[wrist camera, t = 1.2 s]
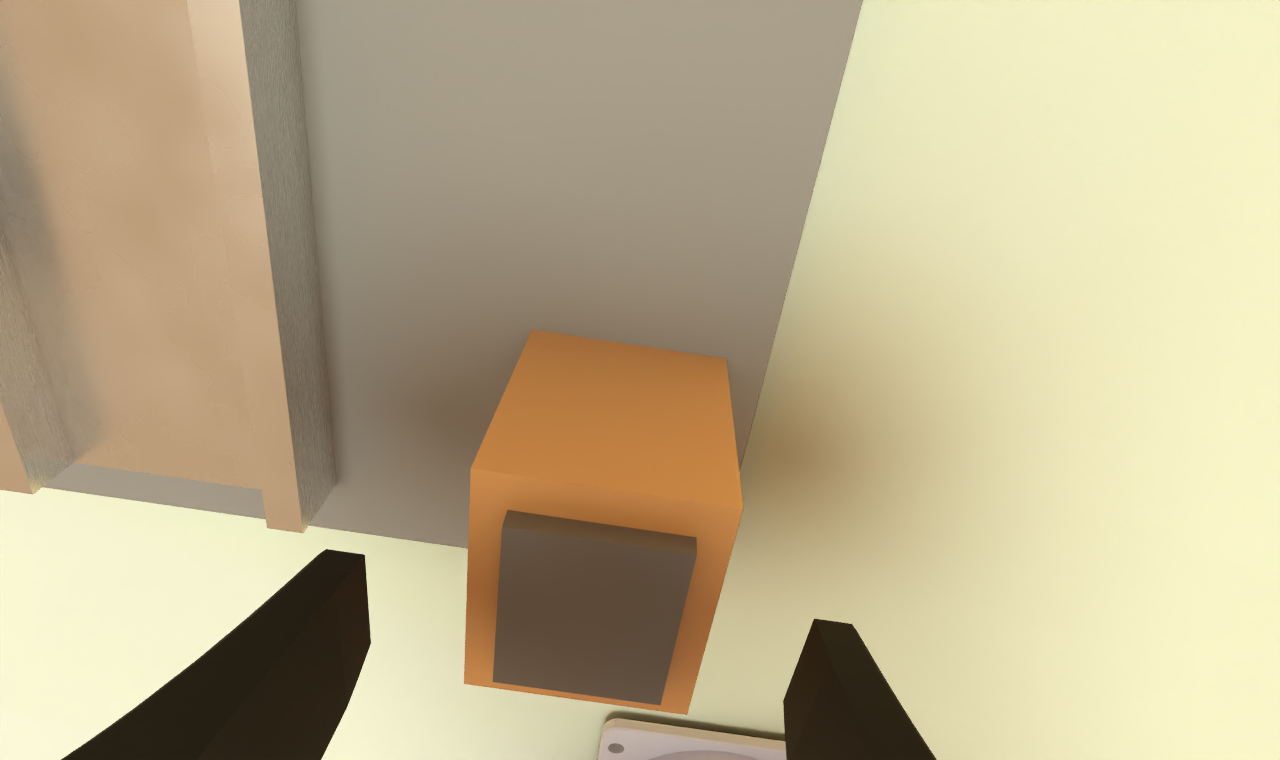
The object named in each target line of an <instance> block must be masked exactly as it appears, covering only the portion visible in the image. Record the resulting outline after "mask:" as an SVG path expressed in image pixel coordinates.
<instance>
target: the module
mask: <svg viewBox="0 0 1280 760" xmlns="http://www.w3.org/2000/svg"><path fill="white" fill-rule="evenodd" d="M742 512H743V501H742V492H741V483H740V475H739V466H738V457H737V449H736V440H735V431H734V423H733V414H732V406H731V397H730V388H729V380H728V371H727V362H726V359H725V358H718V357H712V356H705V355H698V354H692V353H685V352H679V351H672V350H665V349H659V348H652V347H646V346H639V345H632V344H626V343H619V342H613V341H606V340H599V339H593V338H586V337H579V336H573V335H566V334H560V333H553V332H546V331H540V330H533V329H532V330H531V333H530V335H529V337H528V339H527V342H526V344H525V346H524V349H523V351H522V353H521V355H520V358H519V360H518V362H517V364H516V367H515V369H514V371H513V373H512V376H511V378H510V380H509V383H508V385H507V387H506V389H505V392H504V394H503V396H502V398H501V401H500V403H499V405H498V408H497V410H496V412H495V414H494V417H493V419H492V421H491V423H490V426H489V428H488V430H487V432H486V435H485V437H484V439H483V442H482V444H481V446H480V448H479V451H478V453H477V455H476V457H475V460H474V462H473V464H472V467H471V473H470V506H469V539H468V572H467V605H466V638H465V671H464V684H470V685H477V686H484V687H491V688H498V689H506V690H513V691H520V692H527V693H534V694H541V695H548V696H556V697H563V698H570V699H577V700H584V701H591V702H599V703H606V704H613V705H620V706H627V707H634V708H641V709H649V710H656V711H663V712H670V713H677V714H684V715H687V713H688V709H689V705H690V702H691V698H692V694H693V691H694V687H695V683H696V680H697V676H698V673H699V669H700V665H701V662H702V658H703V654H704V651H705V647H706V643H707V640H708V636H709V632H710V629H711V625H712V621H713V618H714V614H715V610H716V607H717V603H718V599H719V596H720V592H721V589H722V585H723V581H724V578H725V574H726V570H727V567H728V563H729V559H730V556H731V552H732V548H733V545H734V541H735V537H736V534H737V530H738V526H739V523H740V519H741V515H742Z"/></svg>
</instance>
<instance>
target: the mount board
mask: <svg viewBox="0 0 1280 760" xmlns="http://www.w3.org/2000/svg"><path fill="white" fill-rule="evenodd" d="M862 1H863V0H296V7H297V19H298V31H299V42H300V54H301V66H302V77H303V89H304V101H305V113H306V124H307V136H308V148H309V159H310V171H311V183H312V195H313V206H314V218H315V230H316V241H317V253H318V265H319V277H320V288H321V300H322V312H323V323H324V335H325V347H326V358H327V370H328V382H329V394H330V405H331V417H332V429H333V440H334V452H335V464H336V476H337V485H336V486H335V488H334V489H333V491H332V492H331V494H330V495H329V496H328V498H327V499H326V501H325V502H324V504H323V505H322V507H321V508H320V509H319V511H318V512H317V514H316V515H315V517H314V518H313V519H312V521H311V522H310V524H309V526H316V527H323V528H330V529H337V530H344V531H351V532H358V533H365V534H372V535H378V536H385V537H392V538H399V539H406V540H413V541H420V542H427V543H434V544H441V545H448V546H455V547H462V548H468V539H469V506H470V473H471V467H472V464H473V462H474V460H475V457H476V455H477V453H478V451H479V448H480V446H481V444H482V442H483V439H484V437H485V435H486V432H487V430H488V428H489V426H490V423H491V421H492V419H493V417H494V414H495V412H496V410H497V408H498V405H499V403H500V401H501V398H502V396H503V394H504V392H505V389H506V387H507V385H508V383H509V380H510V378H511V376H512V373H513V371H514V369H515V367H516V364H517V362H518V360H519V358H520V355H521V353H522V351H523V349H524V346H525V344H526V342H527V339H528V337H529V335H530V333H531V330H532V329H533V330H540V331H546V332H553V333H560V334H566V335H573V336H579V337H586V338H593V339H599V340H606V341H613V342H619V343H626V344H632V345H639V346H646V347H652V348H659V349H665V350H672V351H679V352H685V353H692V354H698V355H705V356H712V357H718V358H725V359H726V362H727V371H728V380H729V388H730V397H731V406H732V414H733V423H734V431H735V440H736V449H737V457H738V466H739V471H740V468H741V464H742V460H743V456H744V452H745V448H746V445H747V441H748V437H749V433H750V429H751V426H752V422H753V418H754V414H755V410H756V406H757V403H758V399H759V395H760V391H761V387H762V384H763V380H764V376H765V372H766V368H767V364H768V361H769V357H770V353H771V349H772V345H773V341H774V338H775V334H776V330H777V326H778V322H779V319H780V315H781V311H782V307H783V303H784V299H785V296H786V292H787V288H788V284H789V280H790V277H791V273H792V269H793V265H794V261H795V257H796V254H797V250H798V246H799V242H800V238H801V234H802V231H803V227H804V223H805V219H806V215H807V212H808V208H809V204H810V200H811V196H812V192H813V189H814V185H815V181H816V177H817V173H818V170H819V166H820V162H821V158H822V154H823V150H824V147H825V143H826V139H827V135H828V131H829V127H830V124H831V120H832V116H833V112H834V108H835V105H836V101H837V97H838V93H839V89H840V85H841V82H842V78H843V74H844V70H845V66H846V63H847V59H848V55H849V51H850V47H851V43H852V40H853V36H854V32H855V28H856V24H857V20H858V17H859V13H860V9H861V5H862ZM43 487H45V488H52V489H59V490H66V491H73V492H80V493H87V494H94V495H101V496H108V497H115V498H122V499H129V500H136V501H143V502H150V503H156V504H163V505H170V506H177V507H184V508H191V509H198V510H205V511H212V512H219V513H226V514H233V515H240V516H247V517H254V518H261V519H266V516H265V510H264V503H263V497H262V490H259V489H252V488H245V487H238V486H231V485H224V484H218V483H211V482H204V481H197V480H190V479H183V478H176V477H169V476H162V475H156V474H149V473H142V472H135V471H128V470H121V469H114V468H107V467H100V466H93V465H87V464H80V463H73V464H71V465H70V466H69V467H67V468H66V469H65V470H64V471H62V472H61V473H60V474H58V475H57V476H56V477H55V478H53V479H52V480H51V481H50V482H48V483H47V484H46V485H44V486H43Z"/></svg>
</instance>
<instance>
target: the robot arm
mask: <svg viewBox="0 0 1280 760" xmlns="http://www.w3.org/2000/svg"><path fill="white" fill-rule="evenodd" d="M370 644H371V639H370V625H369V610H368V596H367V581H366V566H365V555H363V554H355V553H348V552H341V551H334V550H327V549H326V550H325V551H323V552H322V553H320V554H319V555H318V556H317V557H315V558H314V559H313V560H312V561H311V562H310V563H309V564H308V565H306V566H305V567H304V568H303V569H302V570H301V571H300V572H299V573H298V574H296V575H295V576H294V577H293V578H292V579H291V580H290V581H289V582H288V583H286V584H285V585H284V586H283V587H282V588H281V589H280V590H279V591H278V592H276V593H275V594H274V595H273V596H272V597H271V598H270V599H268V600H267V601H266V602H265V603H264V604H263V605H262V606H260V607H259V608H258V609H257V610H256V611H255V612H254V613H252V614H251V615H250V616H249V617H248V618H247V619H245V620H244V621H243V622H242V623H241V624H239V625H238V626H237V627H236V628H235V629H233V630H232V631H231V632H230V633H229V634H228V635H226V636H225V637H224V638H223V639H222V640H220V641H219V642H218V643H217V644H216V645H214V646H213V647H212V648H211V649H210V650H208V651H207V652H206V653H205V654H204V655H202V656H201V657H200V658H199V659H197V660H196V661H195V662H194V663H192V664H191V665H190V666H189V667H187V668H186V669H185V670H183V671H182V672H181V673H180V674H178V675H177V676H176V677H174V678H173V679H172V680H170V681H169V682H168V683H167V684H165V685H164V686H163V687H161V688H160V689H159V690H158V691H156V692H155V693H154V694H152V695H151V696H150V697H148V698H147V699H146V700H145V701H143V702H142V703H141V704H139V705H138V706H137V707H135V708H134V709H133V710H131V711H130V712H129V713H127V714H126V715H124V716H123V717H122V718H120V719H119V720H118V721H116V722H115V723H113V724H112V725H111V726H109V727H108V728H106V729H105V730H104V731H102V732H101V733H99V734H98V735H96V736H95V737H94V738H92V739H91V740H89V741H88V742H86V743H85V744H83V745H82V746H81V747H79V748H78V749H76V750H75V751H73V752H72V753H70V754H69V755H67V756H66V757H64V758H63V759H61V760H321V759H322V757H323V755H324V753H325V751H326V749H327V747H328V745H329V743H330V741H331V739H332V737H333V734H334V732H335V730H336V728H337V726H338V724H339V722H340V720H341V718H342V716H343V714H344V712H345V710H346V708H347V706H348V703H349V701H350V698H351V695H352V693H353V690H354V688H355V685H356V682H357V680H358V677H359V674H360V672H361V669H362V666H363V663H364V661H365V658H366V655H367V652H368V650H369V647H370ZM783 704H784V725H785V741H779V740H772V739H765V738H758V737H751V736H743V735H736V734H729V733H722V732H715V731H708V730H700V729H693V728H686V727H679V726H672V725H665V724H657V723H650V722H643V721H636V720H629V719H621V718H615V719H611V720H609V721H607V722H606V723H605V724H604V726H603V731H602V737H601V742H600V748H599V753H598V758H597V760H936V758H935V756H934V755H933V753H932V752H931V750H930V749H929V747H928V746H927V744H926V743H925V741H924V740H923V738H922V737H921V735H920V734H919V732H918V731H917V729H916V728H915V726H914V724H913V723H912V721H911V720H910V718H909V717H908V715H907V713H906V712H905V710H904V709H903V707H902V705H901V704H900V702H899V701H898V699H897V697H896V696H895V694H894V692H893V691H892V689H891V688H890V686H889V684H888V683H887V681H886V679H885V678H884V676H883V674H882V673H881V671H880V669H879V668H878V666H877V664H876V663H875V661H874V659H873V658H872V656H871V654H870V653H869V651H868V649H867V647H866V646H865V644H864V642H863V641H862V639H861V637H860V636H859V634H858V632H857V631H856V629H855V628H854V626H853V625H852V624H848V623H841V622H834V621H827V620H820V619H814V621H813V623H812V626H811V629H810V631H809V634H808V637H807V639H806V642H805V645H804V647H803V650H802V653H801V655H800V658H799V661H798V663H797V666H796V668H795V671H794V674H793V676H792V679H791V682H790V684H789V687H788V690H787V692H786V695H785V698H784V700H783Z"/></svg>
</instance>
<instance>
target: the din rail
mask: <svg viewBox="0 0 1280 760" xmlns="http://www.w3.org/2000/svg"><path fill="white" fill-rule="evenodd" d="M73 463H80V464H87V465H93V466H100V467H107V468H114V469H121V470H128V471H135V472H142V473H149V474H156V475H162V476H169V477H176V478H183V479H190V480H197V481H204V482H211V483H218V484H224V485H231V486H238V487H245V488H252V489H259V490H262V497H263V503H264V510H265V516H266V523H267V528H271V529H278V530H285V531H292V532H299V533H303V532H304V531H305V530H306V528H307V527H308V525H309V524H310V522H311V521H312V519H313V518H314V517H315V515H316V514H317V512H318V511H319V509H320V508H321V507H322V505H323V504H324V502H325V501H326V499H327V498H328V496H329V495H330V494H331V492H332V491H333V489H334V488H335V486H336V485H337V476H336V464H335V452H334V440H333V429H332V417H331V405H330V394H329V382H328V370H327V358H326V347H325V335H324V323H323V312H322V300H321V288H320V277H319V265H318V253H317V241H316V230H315V218H314V206H313V195H312V183H311V171H310V159H309V148H308V136H307V124H306V113H305V101H304V89H303V77H302V66H301V54H300V42H299V31H298V19H297V7H296V0H0V490H7V491H14V492H21V493H27V494H34V493H35V492H37V491H38V490H39V489H41V488H42V487H43V486H44V485H46V484H47V483H48V482H50V481H51V480H52V479H53V478H55V477H56V476H57V475H58V474H60V473H61V472H62V471H64V470H65V469H66V468H67V467H69V466H70V465H71V464H73Z"/></svg>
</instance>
